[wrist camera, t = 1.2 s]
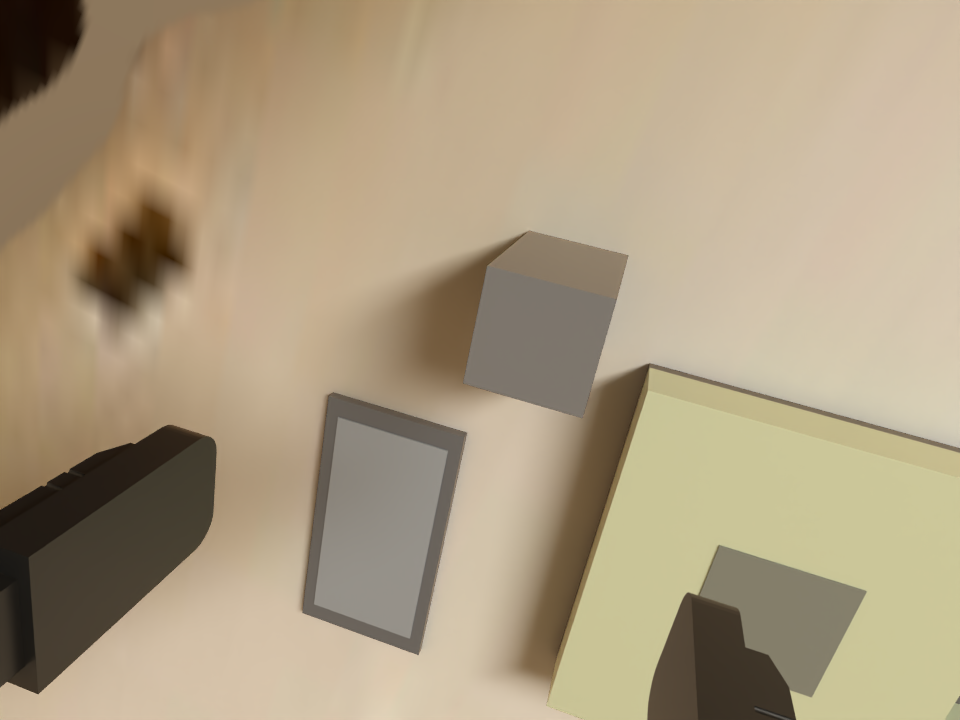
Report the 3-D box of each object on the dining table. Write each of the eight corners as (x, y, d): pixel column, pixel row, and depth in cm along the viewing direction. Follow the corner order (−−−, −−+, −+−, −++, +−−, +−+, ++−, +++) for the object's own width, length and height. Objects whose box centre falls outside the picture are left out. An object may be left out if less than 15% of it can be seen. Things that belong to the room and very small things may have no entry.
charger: (529, 230, 27) (487, 265, 21) (628, 255, 27) (616, 299, 20) (507, 325, 29) (462, 385, 22) (601, 351, 28) (582, 420, 22)
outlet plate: (649, 363, 28) (648, 391, 25) (1334, 551, 24) (1423, 609, 21) (556, 657, 34) (546, 707, 31) (1090, 846, 30) (1134, 921, 27)
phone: (338, 388, 32) (328, 396, 31) (470, 427, 31) (463, 437, 30) (311, 600, 37) (301, 613, 36) (424, 641, 36) (418, 655, 35)
